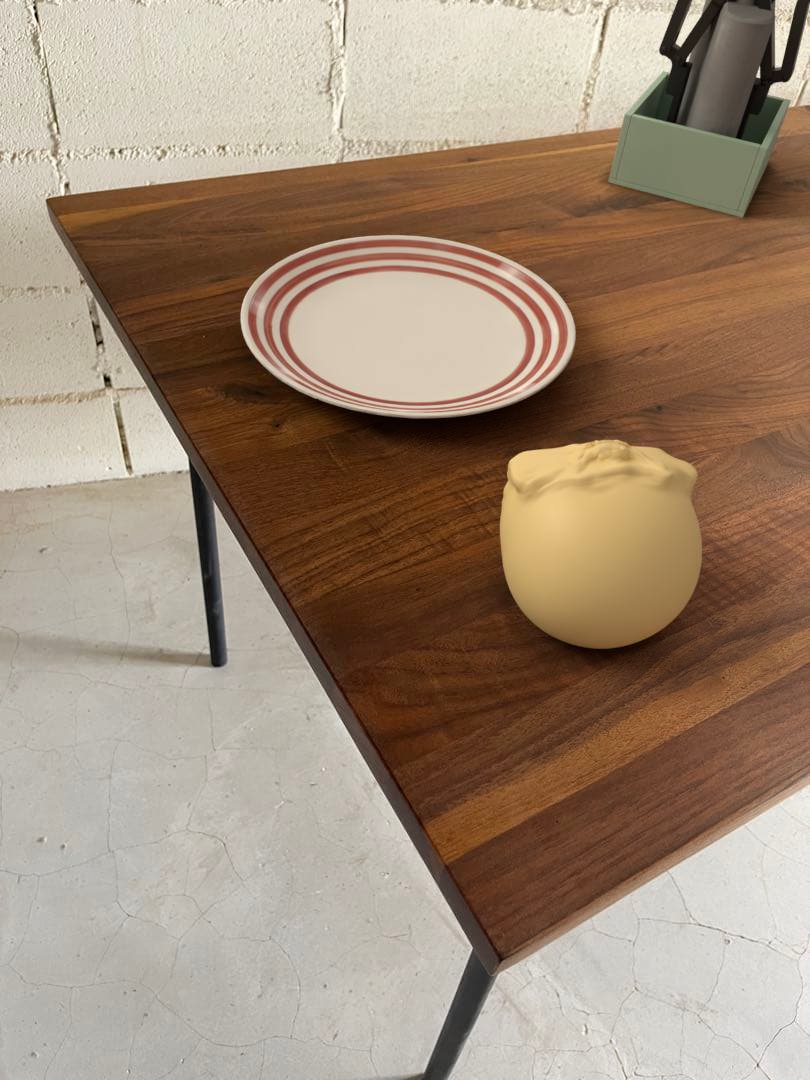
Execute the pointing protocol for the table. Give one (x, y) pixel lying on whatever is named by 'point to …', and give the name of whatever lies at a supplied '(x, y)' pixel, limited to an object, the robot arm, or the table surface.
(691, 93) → the flask
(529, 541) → the sculpture
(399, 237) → the dinner plate
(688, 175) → the basin
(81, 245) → the table surface
